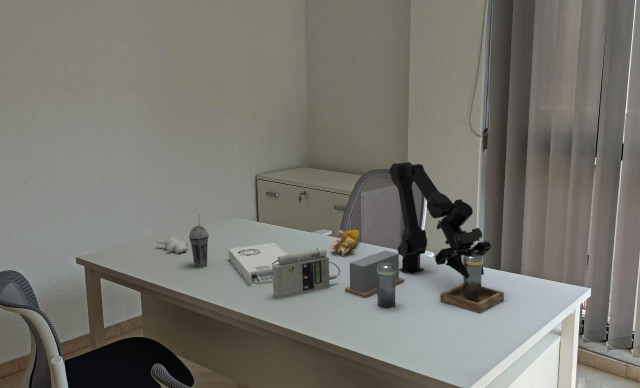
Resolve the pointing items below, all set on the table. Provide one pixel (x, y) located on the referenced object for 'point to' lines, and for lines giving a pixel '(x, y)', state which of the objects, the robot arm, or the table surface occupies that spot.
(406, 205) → the robot arm
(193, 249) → the beverage cup
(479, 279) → the cylinder
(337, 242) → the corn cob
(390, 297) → the cylinder
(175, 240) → the bunny figurine
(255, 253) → the power supply unit
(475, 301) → the tray
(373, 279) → the block
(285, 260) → the geiger counter
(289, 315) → the table surface
